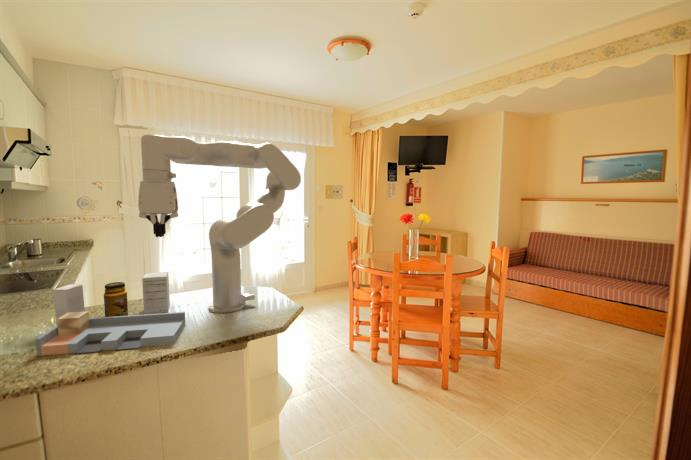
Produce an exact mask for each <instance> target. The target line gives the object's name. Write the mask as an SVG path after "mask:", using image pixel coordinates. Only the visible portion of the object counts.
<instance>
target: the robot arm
mask: <svg viewBox="0 0 691 460" xmlns="http://www.w3.org/2000/svg"><path fill="white" fill-rule="evenodd" d="M140 147H141V148H140V150H141V151H140V152H141V166H142V168H141V169H142V171H141V172H142V180H140V183H139V188H138V198H137V199H138V200H137V201H138V205H137V206H138V212H139V214H138V217H139V218H141V219H147V220H148V221H149V222H150V223H151V224H152V225H153V226H152V227H153V235H155V238H158V237H159V238H163V237H165V235H166V234H167V233H166V232H167V230H166V228H167V227H166V224H167V222H169V220H170V219H175V218H177V217H179V214H178V211H179V202H178V201H179V200H178V194H177V188H176V184H175V182H174V181H172V180H173V179H175V178H177V174H176V173H174V172H172V171H171V167H172V166H171V162H173V163H176V164H181V165H183V164H185V165H196V166H197V165H199V166H215V167H228V168H229V167H231V168H244V169H245V168H246V169H247V168H248V169H257V170H258V169H268V171H269V172H268V173H267V177H266V184H265V185H266V186H265V189H264V191H263V192H262V193H261V194H260V195H258V196H257V197H255V198H253V199H252V200H251V201H249V202H248V203H246V204H244V205H242V206H241V207H240V208H238V211H237V212H236V218H235V219H227V218H223V219H222V218H221V219H219V220H216V221H215V222H214V223H212V225H211V226H210V229H209V232H208V239H209V245H210V252H211V253H210V254H211V276H212V280H211V281H212V302H211V303H209V304H208V307H207V308H208V310H209V311H210V312H212V313H218V314H219V313H220V314H225V313H233V312H237V311H240V310H243V309H244V308H245V307H246V303H247V302H246V301H252V300H253V301H254V300H255V294H253V293H251V294H250V293H243V292H242V277H241V275H242V272H241V251H240V249H242V248H244V247H246V246H248V245H249V244H251V243H252V242H253V241H254V240H256V239H257V238H259V237H260V236H261V235H263V234H264V233H266V232H267V230H269V229H270V228H271V226H272V225H273V223H274V220H275V218H274V217H275V215H274V214H275V213H276V212H278V210H280V209H281V207H282V206H283V204H284V200H285V195H286V191H293V190H295V189H297V188H298V187H299V186H300V185H301V183H302V181H301V180H302V177H301V173H300V172H299V170H298V168H297V167H296V166H295V165H294V164H293V163H292V162H291V161H290V160H289V158H288V157H287V156H286V155H285V154H284V152H282V151H281V149H279V147H277V146H276V145H274V144H273V143H270V142H264V143H259V144H254V143H253V144H252V143H244V142H235V141H228V140H227V141H216V142H210V143H209V142H196V141H195V140H194V139H193V138H191V137H187V136H164V135H160V134H144V135H142V136H141V138H140ZM158 215H160V219H159V216H158Z"/></svg>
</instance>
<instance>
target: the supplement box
mask: <svg viewBox="0 0 691 460" xmlns="http://www.w3.org/2000/svg"><path fill="white" fill-rule="evenodd" d="M141 278H142V279H141V281H142V283H141V284H142V299H143V300H142V301H143V312H144V313H143V315H144V314H159V313H169V310H170V307H171V303H170V302H171V299H170V283H169V281H170V280H169V279H170V278H169V272H168V271H161V272H148V273H145V274H144V275H143V276H142V277H141Z"/></svg>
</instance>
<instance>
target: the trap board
mask: <svg viewBox="0 0 691 460" xmlns="http://www.w3.org/2000/svg"><path fill="white" fill-rule="evenodd" d="M89 324H90V327H88V328H87V329H86V330H84V331H83V332H82V333H80V334H70V335H58V325H55V326H54V327H52V328H50V329H49V330H48V331H46V332H44V333H43V334H41V335H39V336H38V337H36V338H35V348H36V357H39V356H40V357H41V356H42V357H43V356H50V355H52V356H53V355H63V354H74V355H84V354H93V353H101V352H102V351H110V350H115V352H118V351H128V350H139V349H141V348H143V347H154V346H155V347H156V346H165V345H166V346H167V345H175V343H176V342H177V340H178V338H179V337H180V335H181V333H182V332H183V330H184V329H185V327H186V312H185V311H178V312H177V311H175V312H163V313H154V314H144V313H143V314H131V315H129V316H113V317H105V316H104V317H103V316H101V317H89Z"/></svg>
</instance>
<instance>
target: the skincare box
mask: <svg viewBox="0 0 691 460" xmlns="http://www.w3.org/2000/svg"><path fill="white" fill-rule="evenodd" d="M83 287H84V286H83V284H82V283H80V284H77V283H76V284H75V283H73V284H71V283H70V284H67V285H63V286H60V287H57V288H54V289H53V288H52V294H53V303H54V314H55V322H56V323H55V324H56V325H55V326H57V325H58V324H57V319H58V318H60V317H61V316H63V315H65V314H66V313H69V312H85V301H84V299H85V298H84V289H83Z"/></svg>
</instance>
